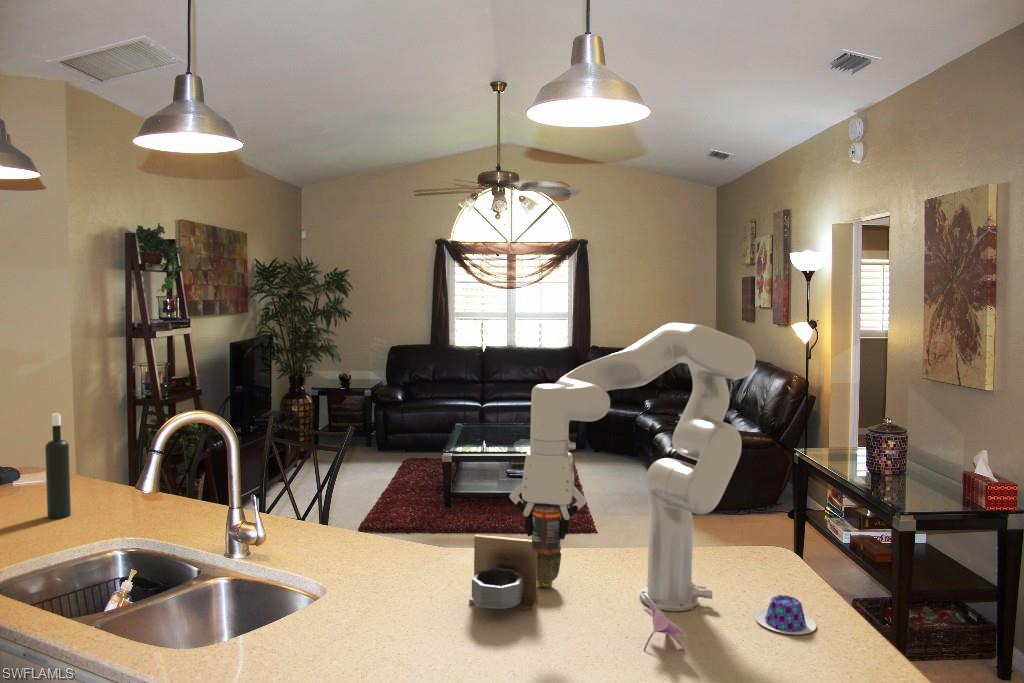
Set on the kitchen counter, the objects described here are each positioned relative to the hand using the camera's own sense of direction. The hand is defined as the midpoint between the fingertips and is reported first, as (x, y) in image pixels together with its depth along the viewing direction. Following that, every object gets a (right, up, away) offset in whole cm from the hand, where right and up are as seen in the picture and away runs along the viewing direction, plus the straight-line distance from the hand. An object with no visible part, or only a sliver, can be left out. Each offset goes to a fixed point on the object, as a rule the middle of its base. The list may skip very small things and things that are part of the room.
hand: (546, 534), depth 150 cm
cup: (+1, -18, +23) cm, 30 cm away
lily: (+22, -21, -4) cm, 31 cm away
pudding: (+50, -21, +7) cm, 55 cm away
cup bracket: (-10, -19, +10) cm, 24 cm away
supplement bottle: (0, -3, 0) cm, 3 cm away
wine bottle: (-138, -12, +68) cm, 154 cm away
